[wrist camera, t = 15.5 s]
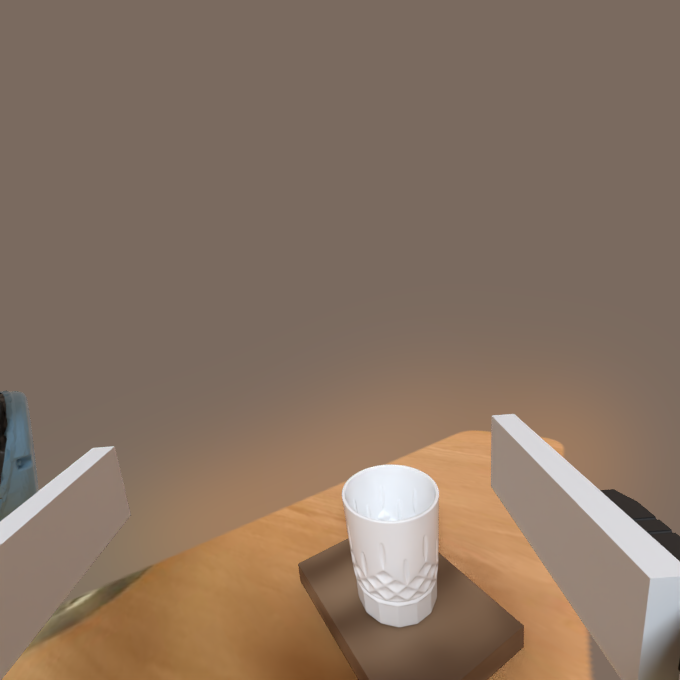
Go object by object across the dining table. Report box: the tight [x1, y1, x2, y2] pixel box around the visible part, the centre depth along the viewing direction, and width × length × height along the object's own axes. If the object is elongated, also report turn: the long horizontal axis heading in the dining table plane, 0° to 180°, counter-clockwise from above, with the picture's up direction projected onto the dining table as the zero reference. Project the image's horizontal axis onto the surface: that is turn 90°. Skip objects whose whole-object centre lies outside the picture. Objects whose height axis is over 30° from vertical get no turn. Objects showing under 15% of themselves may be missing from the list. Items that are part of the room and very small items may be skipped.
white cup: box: [342, 465, 439, 627], centre depth 32 cm, size 8×8×10 cm
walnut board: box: [298, 539, 524, 680], centre depth 33 cm, size 16×12×2 cm
